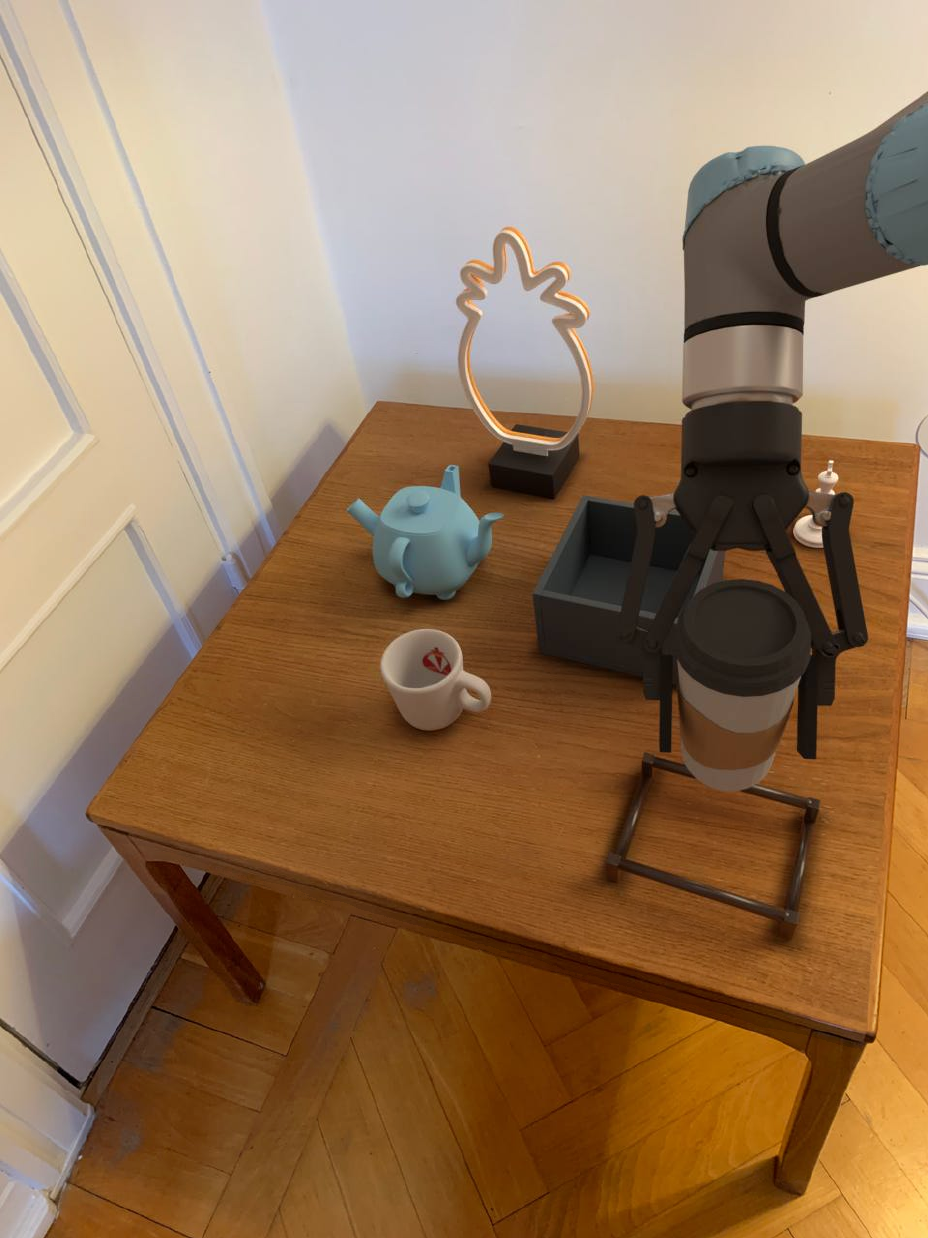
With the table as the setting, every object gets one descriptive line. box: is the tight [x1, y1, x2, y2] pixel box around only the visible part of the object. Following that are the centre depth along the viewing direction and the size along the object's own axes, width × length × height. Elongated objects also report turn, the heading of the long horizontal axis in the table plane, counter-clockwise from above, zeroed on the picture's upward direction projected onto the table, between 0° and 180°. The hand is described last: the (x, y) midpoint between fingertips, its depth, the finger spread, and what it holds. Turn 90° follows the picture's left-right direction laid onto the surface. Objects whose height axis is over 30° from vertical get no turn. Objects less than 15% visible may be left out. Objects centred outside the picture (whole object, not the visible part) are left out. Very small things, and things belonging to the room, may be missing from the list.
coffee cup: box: [673, 578, 812, 792], centre depth 58 cm, size 8×8×15 cm
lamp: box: [455, 226, 595, 500], centre depth 100 cm, size 17×9×32 cm, turn 64°
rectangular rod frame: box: [605, 751, 822, 941], centre depth 72 cm, size 15×11×3 cm
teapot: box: [346, 464, 504, 601], centre depth 97 cm, size 15×14×11 cm
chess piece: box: [792, 459, 839, 549], centre depth 93 cm, size 5×5×10 cm
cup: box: [379, 628, 492, 732], centre depth 84 cm, size 11×8×8 cm
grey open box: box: [531, 494, 726, 686], centre depth 89 cm, size 16×16×9 cm
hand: (734, 751), depth 57 cm, fingers closed on coffee cup, 8 cm apart
